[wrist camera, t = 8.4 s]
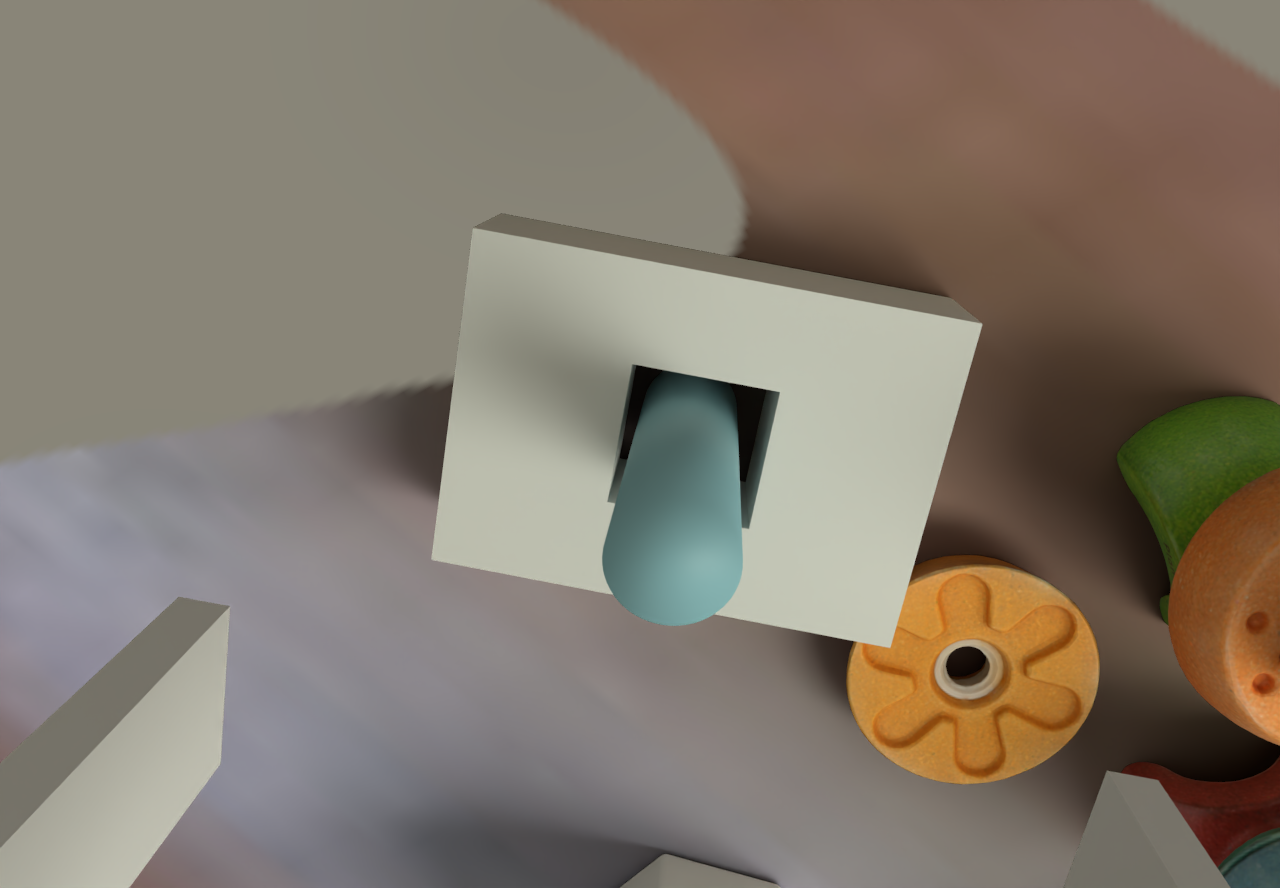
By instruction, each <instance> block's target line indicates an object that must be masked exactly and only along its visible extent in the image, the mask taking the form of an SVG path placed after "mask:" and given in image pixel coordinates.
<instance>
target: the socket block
mask: <svg viewBox="0 0 1280 888" xmlns="http://www.w3.org/2000/svg"><path fill="white" fill-rule="evenodd" d="M981 328H982V323H981V322H980V321H979V320H977V319H976V318H975V317H974V316H973V315H971V314H970V313H969V312H968V311H966V310H965V309H964V308H963V307H962V306H960V305H959V304H958V303H957V302H956V301H954V300H953V299H952V298H949V297H943V296H938V295H933V294H927V293H922V292H917V291H911V290H906V289H901V288H896V287H890V286H885V285H880V284H874V283H869V282H864V281H858V280H853V279H848V278H842V277H837V276H832V275H826V274H821V273H816V272H810V271H805V270H800V269H794V268H789V267H784V266H779V265H773V264H768V263H763V262H757V261H752V260H747V259H741V258H736V257H731V256H725V255H720V254H715V253H709V252H704V251H698V250H693V249H688V248H683V247H677V246H672V245H666V244H661V243H656V242H650V241H646V240H640V239H634V238H630V237H624V236H619V235H613V234H608V233H603V232H598V231H592V230H587V229H582V228H576V227H571V226H566V225H560V224H555V223H550V222H545V221H539V220H534V219H529V218H523V217H518V216H513V215H507V214H499V215H497V216H495V217H494V218H491V219H489V220H487V221H485V222H483V223H482V224H479V225H477V226H475V227H473V229H472V237H471V246H470V254H469V262H468V270H467V278H466V287H465V294H464V302H463V310H462V318H461V326H460V334H459V342H458V350H457V359H456V366H455V374H454V382H453V390H452V399H451V407H450V415H449V423H448V431H447V439H446V447H445V455H444V463H443V471H442V479H441V487H440V495H439V503H438V511H437V519H436V527H435V535H434V543H433V552H432V560H435V561H440V562H446V563H451V564H456V565H461V566H466V567H472V568H477V569H482V570H487V571H492V572H498V573H503V574H508V575H513V576H518V577H524V578H529V579H534V580H539V581H544V582H550V583H555V584H560V585H565V586H570V587H576V588H581V589H586V590H591V591H596V592H602V593H607V594H612V595H613V593H612V592H611V590H610V588H609V586H608V584H607V582H606V579H605V576H604V572H603V566H602V553H603V547H604V543H605V539H606V535H607V532H608V528H609V524H610V521H611V517H612V514H613V510H614V506H615V503H616V499H617V496H618V492H619V488H620V485H621V481H622V478H623V474H624V470H625V467H626V463H627V460H626V459H621V458H620V453H621V447H622V442H623V436H624V431H625V425H626V420H627V414H628V409H629V403H630V398H631V392H632V386H633V381H634V375H635V370H636V365H640V366H645V367H650V368H656V369H661V370H666V371H671V372H677V373H682V374H687V375H693V376H698V377H703V378H708V379H714V380H719V381H724V382H729V383H735V384H740V385H745V386H751V387H756V388H761V389H766V393H765V398H764V402H763V407H762V411H761V416H760V420H759V425H758V429H757V434H756V438H755V443H754V447H753V452H752V456H751V461H750V465H749V470H748V474H747V478H746V482H741V481H740V497H741V523H742V549H743V569H742V576H741V579H740V582H739V585H738V587H737V589H736V591H735V593H734V595H733V596H732V598H731V599H730V600H729V601H728V602H727V604H726V605H725V606H724V607H723V608H721V609H720V610H719V611H718V612H716V613H715V614H716V615H721V616H726V617H731V618H737V619H742V620H747V621H752V622H757V623H763V624H768V625H773V626H778V627H783V628H789V629H794V630H799V631H804V632H809V633H815V634H820V635H825V636H830V637H835V638H841V639H846V640H851V641H856V642H861V643H867V644H872V645H877V646H882V647H887V648H890V647H891V644H892V640H893V637H894V633H895V630H896V626H897V623H898V619H899V616H900V612H901V609H902V605H903V602H904V598H905V595H906V591H907V588H908V584H909V581H910V577H911V573H912V570H913V566H914V563H915V559H916V556H917V552H918V549H919V545H920V542H921V538H922V535H923V531H924V528H925V524H926V521H927V517H928V514H929V510H930V507H931V503H932V500H933V496H934V493H935V489H936V486H937V482H938V479H939V475H940V472H941V468H942V465H943V461H944V458H945V454H946V451H947V447H948V444H949V440H950V437H951V433H952V430H953V426H954V423H955V419H956V416H957V412H958V408H959V405H960V401H961V398H962V394H963V391H964V387H965V384H966V380H967V377H968V373H969V370H970V366H971V363H972V359H973V356H974V352H975V349H976V345H977V342H978V338H979V335H980V331H981Z"/></svg>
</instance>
